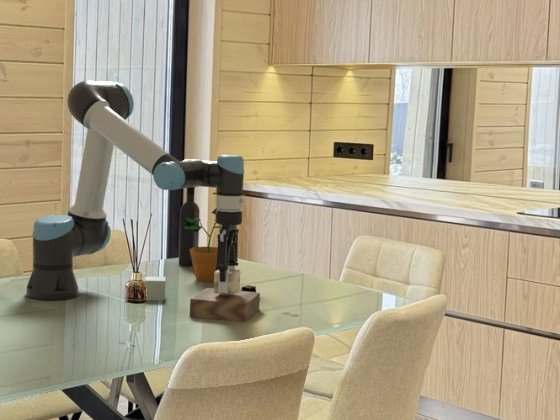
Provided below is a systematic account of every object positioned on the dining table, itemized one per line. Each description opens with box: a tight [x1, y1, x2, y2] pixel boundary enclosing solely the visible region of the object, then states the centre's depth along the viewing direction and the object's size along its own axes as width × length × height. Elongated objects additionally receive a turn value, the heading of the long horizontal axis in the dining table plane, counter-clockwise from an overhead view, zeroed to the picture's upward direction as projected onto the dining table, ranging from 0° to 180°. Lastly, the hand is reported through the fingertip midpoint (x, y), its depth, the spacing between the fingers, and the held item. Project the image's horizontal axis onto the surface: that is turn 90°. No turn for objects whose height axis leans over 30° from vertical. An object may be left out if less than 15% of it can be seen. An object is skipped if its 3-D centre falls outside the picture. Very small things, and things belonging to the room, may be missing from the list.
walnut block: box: [189, 287, 261, 322], centre depth 274 cm, size 16×16×5 cm
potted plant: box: [183, 192, 222, 282], centre depth 319 cm, size 18×19×30 cm
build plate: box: [240, 284, 257, 292], centre depth 293 cm, size 12×7×5 cm, turn 151°
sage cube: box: [144, 276, 166, 301], centre depth 289 cm, size 6×6×6 cm
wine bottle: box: [178, 187, 201, 267], centre depth 343 cm, size 6×6×30 cm
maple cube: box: [213, 269, 241, 295], centre depth 273 cm, size 6×6×6 cm
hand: (226, 290), depth 273 cm, fingers closed on maple cube, 6 cm apart
